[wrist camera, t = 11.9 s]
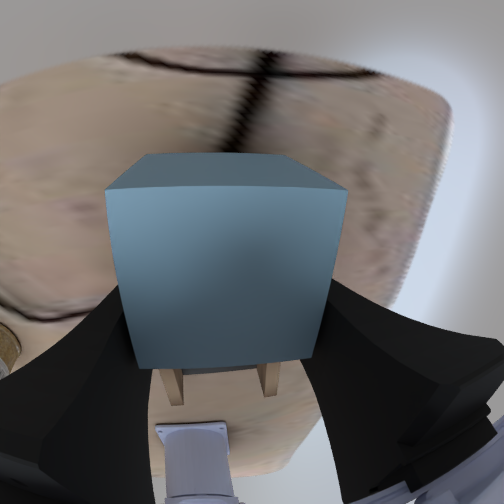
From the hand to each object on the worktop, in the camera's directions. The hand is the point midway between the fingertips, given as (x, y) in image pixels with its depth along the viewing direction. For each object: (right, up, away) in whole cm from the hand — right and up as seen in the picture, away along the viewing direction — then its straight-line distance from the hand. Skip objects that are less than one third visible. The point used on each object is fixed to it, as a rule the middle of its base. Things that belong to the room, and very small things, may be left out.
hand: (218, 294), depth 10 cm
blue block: (0, -1, -1) cm, 1 cm away
